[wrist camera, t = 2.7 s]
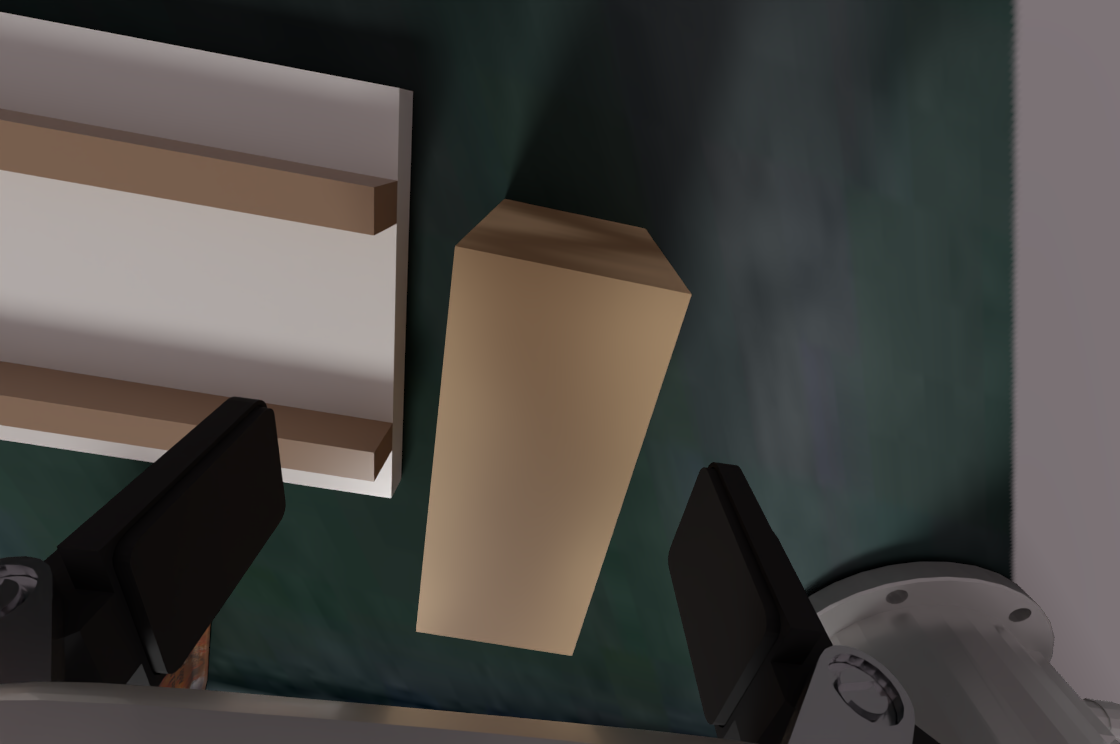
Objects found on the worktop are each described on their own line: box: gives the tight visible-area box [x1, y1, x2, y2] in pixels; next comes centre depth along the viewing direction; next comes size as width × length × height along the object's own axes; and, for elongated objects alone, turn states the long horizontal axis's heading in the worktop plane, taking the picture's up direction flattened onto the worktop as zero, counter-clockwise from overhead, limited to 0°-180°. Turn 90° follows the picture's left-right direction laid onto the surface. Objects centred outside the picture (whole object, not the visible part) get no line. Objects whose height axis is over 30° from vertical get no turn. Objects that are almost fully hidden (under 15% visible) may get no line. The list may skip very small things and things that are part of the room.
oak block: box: [416, 199, 692, 656], centre depth 15 cm, size 4×11×7 cm, turn 169°
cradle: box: [0, 12, 413, 498], centre depth 15 cm, size 18×14×3 cm
